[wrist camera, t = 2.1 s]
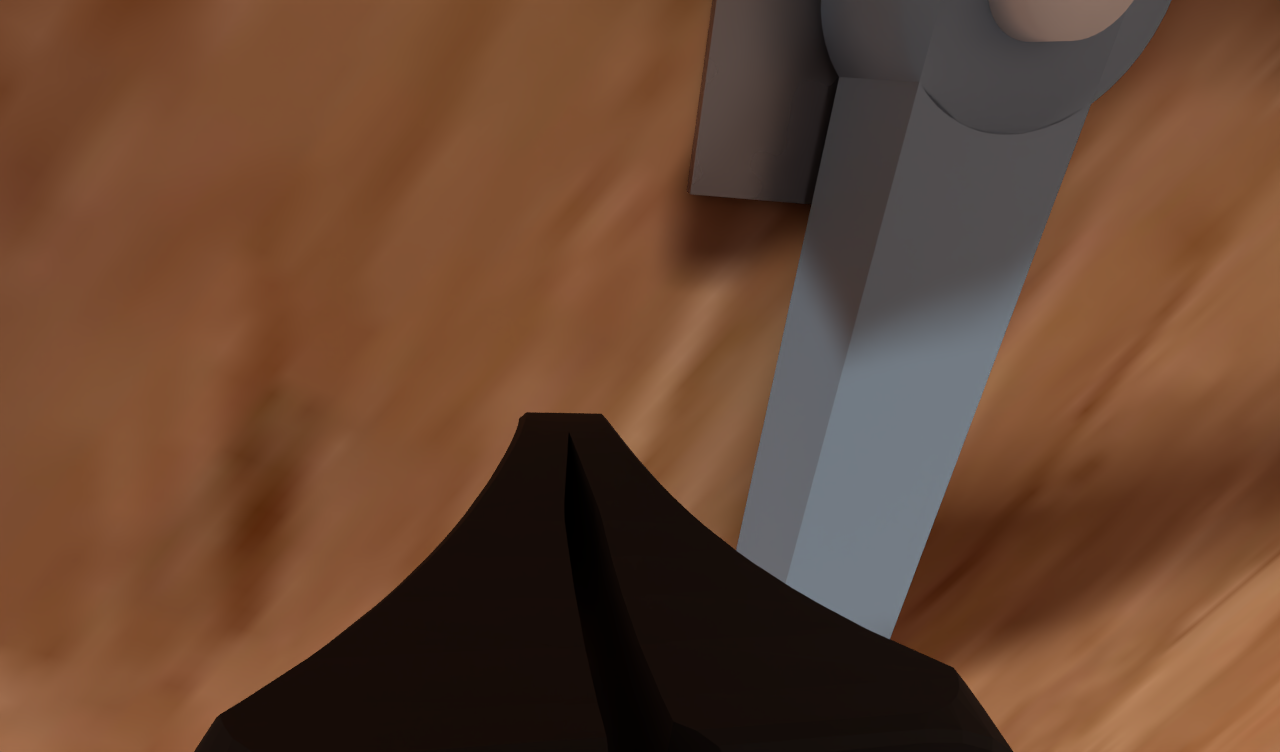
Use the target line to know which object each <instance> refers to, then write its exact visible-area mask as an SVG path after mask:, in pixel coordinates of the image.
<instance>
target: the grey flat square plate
mask: <svg viewBox="0 0 1280 752" xmlns="http://www.w3.org/2000/svg"><path fill="white" fill-rule="evenodd" d="M838 81H839V76H838V74H837V72H836V70H835V68H834V66H833V64H832V62H831V60H830V57H829V54H828V51H827V48H826V45H825V40H824V35H823V29H822V19H821V0H713V1H712V8H711V16H710V23H709V30H708V38H707V45H706V53H705V60H704V68H703V75H702V82H701V90H700V97H699V105H698V112H697V120H696V127H695V134H694V142H693V149H692V157H691V164H690V171H689V179H688V186H687V192H688V193H689V194H693V195H705V196H717V197H729V198H741V199H753V200H765V201H777V202H789V203H801V204H812V200H813V195H814V191H815V186H816V182H817V177H818V172H819V168H820V163H821V159H822V154H823V150H824V145H825V140H826V136H827V131H828V127H829V122H830V117H831V113H832V108H833V104H834V99H835V94H836V90H837V85H838Z"/></svg>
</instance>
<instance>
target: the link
mask: <svg viewBox="0 0 1280 752" xmlns="http://www.w3.org/2000/svg"><path fill="white" fill-rule="evenodd" d="M1170 3H1171V0H821V19H822V29H823V35H824V40H825V45H826V48H827V51H828V54H829V57H830V60H831V62H832V64H833V66H834V68H835V70H836V72H837V74H838V76H839V81H838V85H837V90H836V94H835V99H834V104H833V108H832V113H831V117H830V122H829V127H828V131H827V136H826V140H825V145H824V150H823V154H822V159H821V163H820V168H819V172H818V177H817V182H816V186H815V191H814V195H813V200H812V205H811V209H810V214H809V218H808V223H807V228H806V232H805V237H804V241H803V246H802V251H801V255H800V260H799V264H798V269H797V274H796V278H795V283H794V287H793V292H792V297H791V301H790V306H789V310H788V315H787V320H786V324H785V329H784V333H783V338H782V343H781V347H780V352H779V356H778V361H777V365H776V370H775V375H774V379H773V384H772V388H771V393H770V398H769V402H768V407H767V411H766V416H765V421H764V425H763V430H762V434H761V439H760V444H759V448H758V453H757V457H756V462H755V467H754V471H753V476H752V480H751V485H750V490H749V494H748V499H747V503H746V508H745V513H744V517H743V522H742V526H741V531H740V536H739V540H738V545H737V549H736V551H737V552H739V553H740V554H742V555H743V556H745V557H746V558H747V559H749V560H750V561H752V562H753V563H754V564H756V565H757V566H759V567H761V568H762V569H764V570H765V571H767V572H768V573H770V574H771V575H773V576H774V577H776V578H777V579H779V580H781V581H782V582H784V583H785V584H787V585H788V586H790V587H791V588H793V589H795V590H796V591H798V592H800V593H802V594H803V595H805V596H807V597H809V598H810V599H812V600H814V601H815V602H817V603H819V604H821V605H823V606H824V607H826V608H828V609H830V610H832V611H834V612H836V613H838V614H839V615H841V616H843V617H845V618H847V619H849V620H851V621H853V622H854V623H856V624H858V625H860V626H862V627H864V628H866V629H868V630H870V631H872V632H874V633H877V634H879V635H881V636H883V637H886V638H888V639H890V637H891V635H892V632H893V629H894V627H895V624H896V621H897V619H898V616H899V613H900V611H901V608H902V605H903V603H904V600H905V597H906V595H907V592H908V589H909V587H910V584H911V582H912V579H913V576H914V574H915V571H916V568H917V566H918V563H919V560H920V558H921V555H922V552H923V550H924V547H925V544H926V542H927V539H928V536H929V534H930V531H931V528H932V526H933V523H934V520H935V518H936V515H937V512H938V510H939V507H940V504H941V502H942V499H943V496H944V494H945V491H946V488H947V486H948V483H949V480H950V478H951V475H952V473H953V470H954V467H955V465H956V462H957V459H958V457H959V454H960V451H961V449H962V446H963V443H964V441H965V438H966V435H967V433H968V430H969V427H970V425H971V422H972V419H973V417H974V414H975V411H976V409H977V406H978V403H979V401H980V398H981V395H982V393H983V390H984V387H985V385H986V382H987V379H988V377H989V374H990V371H991V369H992V366H993V364H994V361H995V358H996V356H997V353H998V350H999V348H1000V345H1001V342H1002V340H1003V337H1004V334H1005V332H1006V329H1007V326H1008V324H1009V321H1010V318H1011V316H1012V313H1013V310H1014V308H1015V305H1016V302H1017V300H1018V297H1019V294H1020V292H1021V289H1022V286H1023V284H1024V281H1025V278H1026V276H1027V273H1028V270H1029V268H1030V265H1031V262H1032V260H1033V257H1034V254H1035V252H1036V249H1037V247H1038V244H1039V241H1040V239H1041V236H1042V233H1043V231H1044V228H1045V225H1046V223H1047V220H1048V217H1049V215H1050V212H1051V209H1052V207H1053V204H1054V201H1055V199H1056V196H1057V193H1058V191H1059V188H1060V185H1061V183H1062V180H1063V177H1064V175H1065V172H1066V169H1067V167H1068V164H1069V161H1070V159H1071V156H1072V153H1073V151H1074V148H1075V145H1076V143H1077V140H1078V138H1079V135H1080V132H1081V130H1082V127H1083V124H1084V122H1085V119H1086V116H1087V114H1088V111H1089V108H1090V106H1091V103H1093V102H1094V101H1096V100H1097V99H1098V98H1099V97H1100V96H1102V95H1103V94H1104V93H1105V92H1106V91H1107V90H1109V89H1110V88H1111V87H1112V86H1113V85H1114V84H1115V83H1116V82H1117V81H1118V80H1119V79H1120V78H1121V77H1122V76H1123V75H1124V74H1125V73H1126V72H1127V70H1128V69H1129V68H1130V67H1131V65H1132V64H1133V63H1134V62H1135V61H1136V59H1137V58H1138V57H1139V56H1140V54H1141V53H1142V51H1143V50H1144V48H1145V47H1146V46H1147V44H1148V43H1149V41H1150V40H1151V38H1152V37H1153V35H1154V33H1155V32H1156V30H1157V28H1158V26H1159V25H1160V23H1161V21H1162V19H1163V17H1164V16H1165V14H1166V11H1167V9H1168V7H1169V5H1170Z"/></svg>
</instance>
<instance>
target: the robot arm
mask: <svg viewBox="0 0 1280 752" xmlns="http://www.w3.org/2000/svg"><path fill="white" fill-rule="evenodd" d="M194 752H1013V751H1012V749H1011V748H1010V746H1009V745H1008V743H1007V742H1006V740H1005V739H1004V738H1003V736H1002V735H1001V733H1000V732H999V730H998V729H997V727H996V726H995V724H994V723H993V721H992V720H991V719H990V717H989V716H988V714H987V713H986V711H985V710H984V708H983V707H982V705H981V704H980V703H979V701H978V700H977V698H976V697H975V696H974V694H973V693H972V692H971V690H970V689H969V687H968V686H967V685H966V683H965V682H964V681H963V679H962V678H961V677H960V676H959V674H958V673H957V672H956V670H955V669H954V668H953V667H950V666H948V665H946V664H944V663H942V662H939V661H937V660H935V659H933V658H930V657H928V656H926V655H924V654H921V653H919V652H917V651H915V650H912V649H910V648H908V647H906V646H904V645H901V644H899V643H897V642H895V641H892V640H890V639H888V638H886V637H883V636H881V635H879V634H877V633H874V632H872V631H870V630H868V629H866V628H864V627H862V626H860V625H858V624H856V623H854V622H853V621H851V620H849V619H847V618H845V617H843V616H841V615H839V614H838V613H836V612H834V611H832V610H830V609H828V608H826V607H824V606H823V605H821V604H819V603H817V602H815V601H814V600H812V599H810V598H809V597H807V596H805V595H803V594H802V593H800V592H798V591H796V590H795V589H793V588H791V587H790V586H788V585H787V584H785V583H784V582H782V581H781V580H779V579H777V578H776V577H774V576H773V575H771V574H770V573H768V572H767V571H765V570H764V569H762V568H761V567H759V566H757V565H756V564H754V563H753V562H752V561H750V560H749V559H747V558H746V557H745V556H743V555H742V554H740V553H739V552H737V551H736V550H735V549H733V548H732V547H731V546H730V545H728V544H727V543H726V542H725V541H723V540H722V539H721V538H719V537H718V536H717V535H716V534H714V533H713V532H712V531H711V530H709V529H708V528H707V527H706V526H704V525H703V524H702V523H701V522H700V521H699V520H697V519H696V518H695V517H694V516H693V515H692V514H691V513H689V512H688V511H687V510H686V509H685V508H684V507H683V506H682V505H681V504H680V503H679V502H678V501H677V500H676V499H675V498H674V497H673V496H672V495H671V494H670V493H669V492H668V491H667V490H666V489H665V488H664V487H663V486H662V485H661V484H660V483H659V482H658V481H657V480H656V479H655V477H654V476H653V475H652V474H651V473H650V472H649V471H648V470H647V469H646V467H645V466H644V465H643V464H642V463H641V462H640V461H639V459H638V458H637V457H636V456H635V455H634V453H633V452H632V451H631V450H630V449H629V447H628V446H627V445H626V444H625V442H624V441H623V440H622V439H621V437H620V436H619V435H618V433H617V432H616V431H615V430H614V428H613V427H612V426H611V424H610V423H609V422H608V420H607V419H606V418H605V417H604V416H603V415H602V414H584V413H529V412H527V413H525V414H524V415H523V416H522V417H521V418H519V423H518V427H517V430H516V432H515V435H514V437H513V439H512V441H511V443H510V445H509V447H508V449H507V451H506V453H505V455H504V457H503V458H502V460H501V462H500V464H499V465H498V467H497V469H496V470H495V472H494V474H493V475H492V477H491V479H490V480H489V482H488V483H487V485H486V486H485V487H484V489H483V490H482V492H481V493H480V494H479V496H478V497H477V498H476V500H475V501H474V503H473V504H472V505H471V507H470V508H469V509H468V511H467V512H466V514H465V515H464V516H463V517H462V519H461V520H460V521H459V522H458V524H457V525H456V526H455V527H454V528H453V530H452V531H451V532H450V533H449V534H448V535H447V537H446V538H445V539H444V540H443V541H442V542H441V543H440V544H439V545H438V546H437V548H436V549H435V550H434V551H433V552H432V553H431V554H430V555H429V556H428V557H427V558H426V559H425V560H424V561H423V562H422V563H421V564H420V565H419V566H418V567H417V568H416V569H415V570H414V571H413V572H412V573H411V574H410V575H409V576H408V577H407V578H406V579H405V580H404V581H403V582H402V583H401V584H400V585H399V586H397V587H396V588H395V589H394V590H393V591H392V592H391V593H390V594H389V595H387V596H386V597H385V598H384V599H383V600H382V601H381V602H379V603H378V604H377V605H376V606H375V607H373V608H372V609H371V610H370V611H368V612H367V613H366V614H365V615H363V616H362V617H361V618H360V619H358V620H357V621H356V622H355V623H353V624H352V625H351V626H350V627H348V628H347V629H346V630H344V631H343V632H342V633H341V634H339V635H338V636H337V637H336V638H334V639H333V640H332V641H331V642H329V643H328V644H327V645H326V646H324V647H323V648H321V649H320V650H319V651H317V652H316V653H315V654H313V655H312V656H310V657H309V658H308V659H306V660H305V661H303V662H301V663H300V664H298V665H297V666H295V667H294V668H292V669H291V670H289V671H288V672H286V673H285V674H283V675H281V676H280V677H278V678H277V679H275V680H274V681H272V682H271V683H269V684H268V685H266V686H265V687H263V688H261V689H260V690H258V691H257V692H255V693H254V694H252V695H251V696H249V697H248V698H246V699H245V700H243V701H241V702H240V703H238V704H237V705H235V706H233V707H232V708H230V709H228V710H227V711H225V712H223V713H222V714H220V715H219V716H218V717H217V718H216V719H215V721H214V722H213V724H212V725H211V727H210V728H209V730H208V731H207V733H206V734H205V736H204V737H203V739H202V740H201V742H200V743H199V745H198V747H197V748H196V750H195V751H194Z"/></svg>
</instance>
